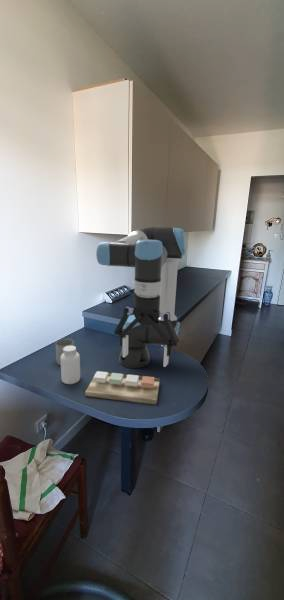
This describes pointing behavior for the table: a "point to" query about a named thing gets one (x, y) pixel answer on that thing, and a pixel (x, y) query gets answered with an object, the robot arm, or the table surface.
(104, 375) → the white key
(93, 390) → the keypad board
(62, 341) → the cup
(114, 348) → the table surface
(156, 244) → the robot arm
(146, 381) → the key terracotta
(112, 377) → the key sage
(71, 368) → the pill bottle
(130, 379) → the white key
